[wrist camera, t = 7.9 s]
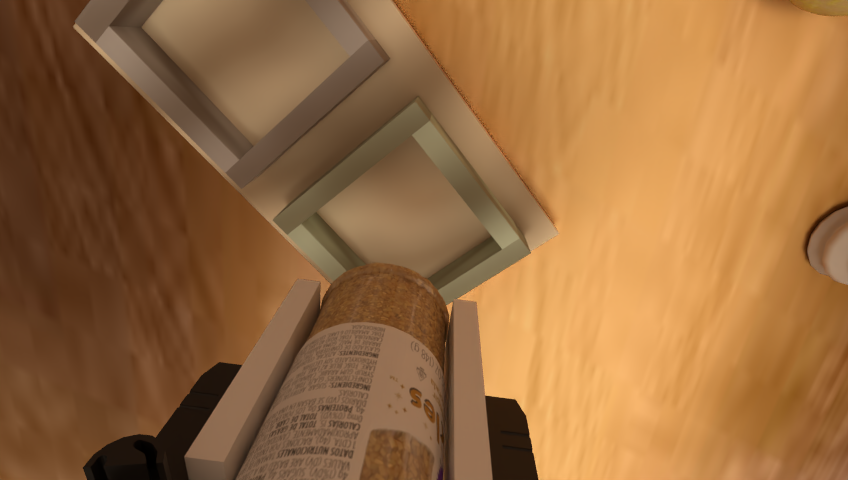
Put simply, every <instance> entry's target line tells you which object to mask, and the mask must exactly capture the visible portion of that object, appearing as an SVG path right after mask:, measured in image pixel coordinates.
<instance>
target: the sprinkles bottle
mask: <svg viewBox="0 0 848 480" xmlns="http://www.w3.org/2000/svg"><path fill="white" fill-rule="evenodd" d="M448 329H449V314H448V311H447V307H446V303H445V301H444V299H443V297H442V296H441V295H440V293H439V292H438V290H437V289H436V288H435V287H434V286H433V284H432V283H431V282H430V281H429V280H428V279H427V278H424V277H422V276H421V275H420V274H418V273H417V272H415V271H413V270H411V269H408V268H405V267H402V266H397V265H394V264H385V263H377V262H376V263H370V264H367V265H363V266H359V267H355V268H353V269H351V270H348V271H346V272H344V273H343V274H342V275H340V276H339V277H338V278H337V279H336V280H334V281H333V282H332V284H331V285H330V287H329V289H328V290H327V292H326V294H325V295H324V298H323V300H322V305H321V309H320V314H319V316H318V318H317V320H316V323H315V325H314V327H313V329H312V331H311V333H310V335H309V337H308V339H307V341H306V343H305V344H304V345H303V347H302V348H301V349H300V351H299V352H298V354H297V356H296V358H295V360H294V362H293V364H292V366H291V368H290V370H289V372H288V374H287V376H286V378H285V380H284V382H283V384H282V386H281V388H280V390H279V392H278V394H277V396H276V398H275V400H274V402H273V404H272V406H271V408H270V410H269V412H268V414H267V416H266V418H265V420H264V422H263V424H262V426H261V428H260V430H259V432H258V434H257V436H256V438H255V441H254V443H253V445H252V447H251V449H250V451H249V453H248V455H247V457H246V459H245V461H244V463H243V465H242V467H241V469H240V471H239V473H238V476H237V478H236V480H443V463H444V429H445V403H446V388H445V379H444V362H445V356H444V354H445V342H446V340H447V334H448Z"/></svg>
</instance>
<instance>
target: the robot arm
mask: <svg viewBox="0 0 848 480" xmlns="http://www.w3.org/2000/svg"><path fill="white" fill-rule="evenodd" d="M319 314H320V282H319V281H311V280H304V279H297V280H296V282H295V284H294V285H293V287H292V288H291V290H290V291H289V293H288V295H287V296H286V298H285V299H284V301H283V302H282V304H281V306H280V307H279V309H278V310H277V312H276V313H275V315H274V317H273V318H272V320H271V321H270V323H269V324H268V326H267V328H266V329H265V331H264V332H263V334H262V335H261V337H260V339H259V340H258V342H257V343H256V345H255V346H254V348H253V350H252V351H251V353H250V354H249V356H248V357H247V359H246V361H245V362H244V364H243V365H237V364H229V363H221V362H219V363H218V364H217V365H215V366H214V367H212V368H211V369H210V370H208V371H207V372H205V373H204V374H203V375H202V376H201V377H200V378H199V380H198V381H197V382H196V384H195V385H194V386H193V388H192V389H191V390H190V394H188V395H187V396H186V397H185V399H184V400H183V401H182V403H181V404H180V407H179V408H177V409H176V411H175V412H174V413H173V415H172V416H171V418H170V419H169V420H168V422H167V423H166V424H165V426H164V427H163V428H162V430H161V431H160V432H159V434H158V435H157V437H156V438H155V437H153V436H150V435H140V434H138V435H133V436H128V437H123V438H121V439H119V440H117V441H114V442H112V443H110V444H108V445H106V446H105V447H104V448H102V449H101V450H99V451H98V452H97V453H95V454H94V455H93V456H92V457H91V458H90V460H89V461H88V462H87V463H86V465H85V466H84V467H83V469H84V472H85V475H86V478H87V480H236V478H237V476H238V473H239V471H240V469H241V467H242V465H243V463H244V461H245V459H246V457H247V455H248V453H249V451H250V449H251V447H252V445H253V443H254V441H255V438H256V436H257V434H258V432H259V430H260V428H261V426H262V424H263V422H264V420H265V418H266V416H267V414H268V412H269V410H270V408H271V406H272V404H273V402H274V400H275V398H276V396H277V394H278V392H279V390H280V388H281V386H282V384H283V382H284V380H285V378H286V376H287V374H288V372H289V370H290V368H291V366H292V364H293V362H294V360H295V358H296V356H297V354H298V352H299V351H300V349H301V348H302V347H303V345H304V344H305V343H306V341H307V339H308V337H309V335H310V333H311V331H312V329H313V327H314V325H315V323H316V320H317V318H318V316H319ZM444 356H445V362H444V379H445V388H446V403H445V429H444V463H443V480H538V475H537V470H536V465H535V460H534V455H533V453H532V444H531V439H530V438H529V429H528V424H527V419H526V415H525V414H524V412H523V411H522V409H521V408H520V406H519V404H518V403H517V401H516V400H514V399H506V398H499V397H491V396H485V391H484V380H483V369H482V358H481V347H480V336H479V325H478V314H477V303H476V302H473V301H466V300H458V299H454V300H453V306H452V311H451V317H450V323H449V329H448V334H447V340H446V346H445V354H444Z"/></svg>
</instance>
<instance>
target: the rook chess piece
mask: <svg viewBox="0 0 848 480" xmlns="http://www.w3.org/2000/svg"><path fill="white" fill-rule="evenodd" d="M807 252H808V256H809V260H810V264H811V266H812V267H814V268H815V269H816V270H817V271H818V272H819V273H820V274H824V275H828V276H830V277H831V278H832V279H833V280H834V281H837V282H840V283H844V284H847V285H848V206H847V207H844V208H842V209H840V210H837V211H835V212H833V213H831V214H830V215H829V216H827V217H826V218H825V219H823V220H822V221H821V222H820V223H819V224H818V225H817V227H816V228H815V229H814V231H813V232H812V234H811V236H810V239H809V243H808V247H807Z"/></svg>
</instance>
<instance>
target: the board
mask: <svg viewBox="0 0 848 480" xmlns="http://www.w3.org/2000/svg"><path fill="white" fill-rule="evenodd" d="M75 23H76V24H75V25H74V26H73V27H74V28H75V29H76V30H77V31H78V32H79V33H80V34H81V35H82V36H83V37H84V38H85V39H86V40H87V41H88V42H89V43H90V44H91V45H92V46H93V47H94V48H95V49H96V50H97V51H98V52H99V53H100V54H101V55H102V56H103V57H104V58H105V59H106V60H107V61H108V62H109V63H110V64H111V65H112V66H113V67H114V68H115V69H116V70H117V71H118V72H119V73H120V74H121V75H122V76H123V77H124V78H125V79H126V80H127V81H128V82H129V83H130V84H131V85H132V86H133V87H134V88H135V89H136V90H137V91H138V92H139V93H140V94H141V95H142V96H143V97H144V98H145V99H146V100H147V101H148V102H149V103H150V104H151V105H152V106H153V107H154V108H155V109H156V110H157V111H158V112H159V113H160V114H161V115H162V116H163V117H164V118H165V119H166V120H167V121H168V122H169V123H170V124H171V125H172V126H173V127H174V128H175V129H176V130H177V131H178V132H179V133H180V134H181V135H182V136H183V137H184V138H185V139H186V140H187V141H188V142H189V143H190V144H191V145H192V146H193V147H194V148H195V149H196V150H197V151H198V152H199V153H200V154H201V155H202V156H203V157H204V158H205V159H206V160H207V161H208V162H209V163H210V164H211V165H212V166H213V167H214V168H215V169H216V170H217V171H218V172H219V173H220V174H221V175H222V176H223V177H224V178H225V179H226V180H227V181H228V182H229V183H230V184H231V185H232V186H233V187H234V188H235V189H236V190H237V191H238V192H239V193H240V194H241V195H242V196H243V197H244V198H245V199H246V200H247V201H248V202H249V203H250V204H251V205H252V206H253V207H254V208H255V209H256V210H257V211H258V212H259V213H260V214H261V215H262V216H263V217H264V218H265V219H266V220H267V221H268V222H269V223H270V224H271V225H272V226H273V227H274V228H275V229H276V230H277V231H278V232H279V233H280V234H281V235H282V236H283V237H284V238H285V239H286V240H287V241H288V242H289V243H290V244H291V245H292V246H293V247H294V248H295V249H296V250H297V251H298V252H299V253H300V254H301V255H302V256H303V257H304V258H305V259H306V260H307V261H308V262H309V263H310V264H311V265H312V266H313V267H314V268H315V269H316V270H317V271H318V272H319V273H320V274H321V275H322V276H323V277H324V278H325V279H326V280H327V281H328V282H329V283H330V284H332V282H333V281H334V280H336V279H337V278H338V277H339V276H340V275H342V274H343V273H344V272H346V271H348V270H351V269H353V268H355V267H359V266H363V265H367V264H370V263H376V262H377V263H385V264H394V265H397V266H402V267H405V268H408V269H411V270H413V271H415V272H417V273H418V274H420V275H421V276H422V277H424V278H427V279H428V280H429V281H430V282H431V283H432V284H433V286H434V287H435V288H436V289H437V290H438V292H439V293H440V295H441V296H442V297H443V299H444V301H445V303H446V305H448V304H449V303H451V302H453V300H454V299H457V298H459V297H461V296H462V295H464V294H466V293H467V292H469V291H470V290H472V289H474V288H475V287H477V286H478V285H480V284H482V283H483V282H485V281H487V280H488V279H490V278H491V277H493V276H495V275H496V274H498V273H499V272H501V271H503V270H504V269H506V268H508V267H509V266H511V265H512V264H514V263H516V262H517V261H519V260H520V259H522V258H524V257H525V256H527V255H529V254H530V253H531V251H532V250H534V249H535V248H537V247H539V246H540V245H542V244H544V243H545V242H547V241H548V240H550V239H552V238H553V237H555V236H556V235H558V234H559V232H558V231H557V229H556V227H555V225H554V224H553V222H552V221H551V220H550V218H549V217H548V215H547V214H546V213H545V211H544V210H543V208H542V207H541V206H540V204H539V203H538V201H537V200H536V199H535V197H534V196H533V195H532V193H531V192H530V190H529V189H528V188H527V186H526V185H525V183H524V182H523V181H522V179H521V178H520V176H519V175H518V174H517V172H516V171H515V170H514V168H513V167H512V165H511V164H510V163H509V161H508V160H507V158H506V157H505V156H504V154H503V153H502V151H501V150H500V149H499V147H498V146H497V144H496V143H495V142H494V140H493V139H492V138H491V136H490V135H489V133H488V132H487V131H486V129H485V128H484V126H483V125H482V124H481V122H480V121H479V119H478V118H477V117H476V115H475V114H474V112H473V111H472V110H471V108H470V107H469V106H468V104H467V103H466V101H465V100H464V99H463V97H462V96H461V94H460V93H459V92H458V90H457V89H456V87H455V86H454V85H453V83H452V82H451V80H450V79H449V78H448V76H447V75H446V74H445V72H444V71H443V69H442V68H441V67H440V65H439V64H438V62H437V61H436V60H435V58H434V57H433V55H432V54H431V53H430V51H429V50H428V49H427V47H426V46H425V44H424V43H423V42H422V40H421V39H420V37H419V36H418V35H417V33H416V32H415V30H414V29H413V28H412V26H411V25H410V23H409V22H408V21H407V19H406V18H405V17H404V15H403V14H402V12H401V11H400V10H399V8H398V7H397V5H396V4H395V3H394V1H393V0H90V2H89V3H88V4H87V6H86V7H85V8H84V10H83V11H82V12H81V14H80V15H79V16H78V18H77V19H76V20H75Z"/></svg>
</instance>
